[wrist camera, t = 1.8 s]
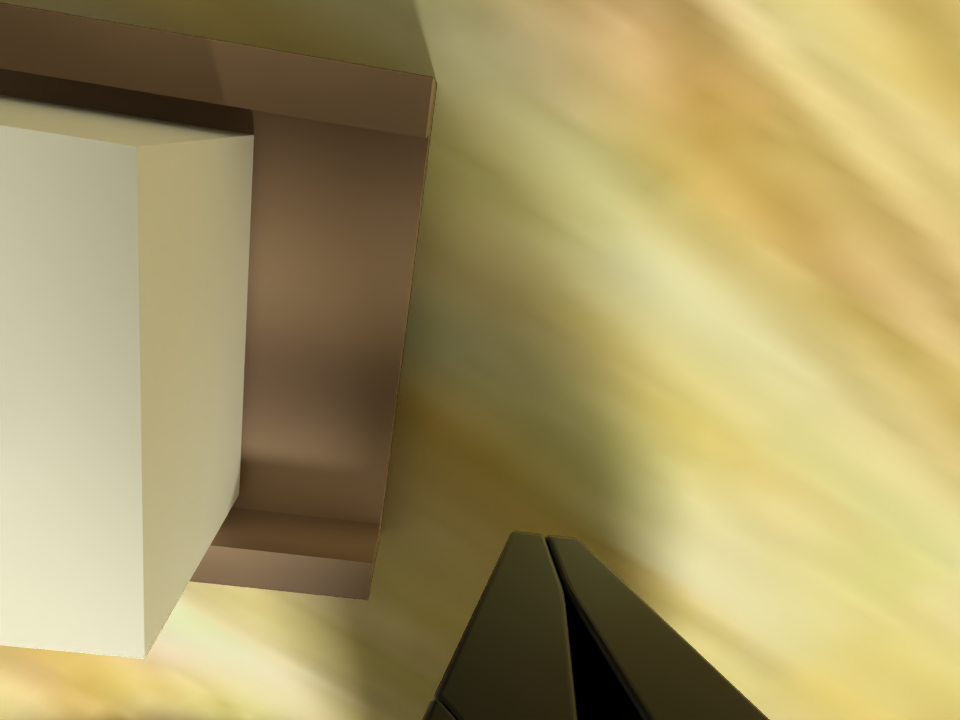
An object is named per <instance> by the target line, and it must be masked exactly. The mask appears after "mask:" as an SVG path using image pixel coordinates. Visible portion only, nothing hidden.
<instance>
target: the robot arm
mask: <svg viewBox="0 0 960 720" xmlns="http://www.w3.org/2000/svg"><path fill="white" fill-rule="evenodd" d="M422 720H769V719H768V718H767V717H766V716H765V715H764V714H763V713H762V712H761V711H760V710H759V709H758V708H757V707H756V706H754V705H753V704H752V703H751V702H750V701H749V700H748V699H747V698H746V697H745V696H744V695H743V694H742V693H741V692H740V691H739V690H738V689H736V688H735V687H734V686H733V685H732V684H731V683H730V682H729V681H728V680H727V679H726V678H725V677H724V676H723V675H722V674H721V673H720V672H718V671H717V670H716V669H715V668H714V667H713V666H712V665H711V664H710V663H709V662H708V661H707V660H706V659H705V658H704V657H703V656H702V655H700V654H699V653H698V652H697V651H696V650H695V649H694V648H693V647H692V646H691V645H690V644H689V643H688V642H687V641H686V640H685V639H684V638H682V637H681V636H680V635H679V634H678V633H677V632H676V631H675V630H674V629H673V628H672V627H671V626H670V625H669V624H668V623H667V622H666V621H664V620H663V619H662V618H661V617H660V616H659V615H658V614H657V613H656V612H655V611H654V610H653V609H652V608H651V607H650V606H649V605H648V604H646V603H645V602H644V601H643V600H642V599H641V598H640V597H639V596H638V595H637V594H636V593H635V592H634V591H633V590H632V589H631V588H630V587H628V586H627V585H626V584H625V583H624V582H623V581H622V580H621V579H620V578H619V577H618V576H617V575H616V574H615V573H614V572H613V571H612V570H610V569H609V568H608V567H607V566H606V565H605V564H604V563H603V562H602V561H601V560H600V559H599V558H598V557H597V556H596V555H595V554H594V553H592V552H591V551H590V550H589V549H588V548H587V547H586V546H585V545H584V544H583V543H582V542H581V541H579V540H578V539H576V538H571V537H562V536H553V535H549V536H547V537H546V538H544V536H543V535H541V534H536V533H528V532H519V531H514V532H512V533H511V534H510V536H509V538H508V540H507V542H506V544H505V547H504V549H503V551H502V553H501V555H500V557H499V559H498V561H497V564H496V566H495V568H494V570H493V572H492V574H491V576H490V578H489V580H488V583H487V585H486V587H485V589H484V591H483V593H482V595H481V597H480V600H479V602H478V604H477V606H476V608H475V610H474V612H473V614H472V616H471V619H470V621H469V623H468V625H467V627H466V629H465V631H464V633H463V636H462V638H461V640H460V642H459V644H458V646H457V648H456V650H455V652H454V655H453V657H452V659H451V661H450V663H449V665H448V667H447V669H446V672H445V674H444V676H443V678H442V680H441V682H440V684H439V686H438V688H437V691H436V693H435V695H434V697H433V701H431V702H430V704H429V706H428V708H427V711H426V713H425V715H424V717H423V719H422Z"/></svg>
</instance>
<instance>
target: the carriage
mask: <svg viewBox="0 0 960 720" xmlns="http://www.w3.org/2000/svg"><path fill="white" fill-rule="evenodd" d="M253 148H254V135H251V134H245V133H238V132H232V131H226V130H220V129H214V128H208V127H201V126H195V125H189V124H183V123H177V122H170V121H164V120H158V119H152V118H146V117H139V116H133V115H127V114H121V113H115V112H108V111H102V110H96V109H90V108H84V107H77V106H71V105H65V104H59V103H53V102H46V101H40V100H34V99H28V98H22V97H15V96H9V95H3V94H0V645H5V646H15V647H25V648H36V649H46V650H57V651H67V652H77V653H88V654H98V655H109V656H119V657H130V658H140V659H145V657H146V656H147V654H148V652H149V651H150V649H151V647H152V645H153V644H154V642H155V640H156V638H157V637H158V635H159V633H160V631H161V630H162V628H163V626H164V624H165V623H166V621H167V619H168V617H169V616H170V614H171V612H172V611H173V609H174V607H175V605H176V604H177V602H178V600H179V598H180V597H181V595H182V593H183V591H184V590H185V588H186V586H187V584H188V583H189V581H190V579H191V577H192V576H193V574H194V572H195V570H196V569H197V567H198V565H199V564H200V562H201V560H202V558H203V557H204V555H205V553H206V551H207V550H208V548H209V546H210V544H211V543H212V541H213V539H214V537H215V536H216V534H217V532H218V530H219V529H220V527H221V525H222V523H223V522H224V520H225V518H226V517H227V515H228V513H229V511H230V510H231V508H232V506H233V504H234V503H235V501H236V499H237V497H238V496H239V487H240V462H241V438H242V414H243V390H244V366H245V342H246V317H247V293H248V269H249V245H250V221H251V197H252V173H253Z"/></svg>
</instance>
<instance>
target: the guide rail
mask: <svg viewBox="0 0 960 720" xmlns="http://www.w3.org/2000/svg"><path fill="white" fill-rule="evenodd" d="M436 88H437V83H436V81H435V80H434V78H433V77H429V76H423V75H418V74H412V73H406V72H400V71H394V70H389V69H383V68H377V67H371V66H365V65H360V64H354V63H348V62H342V61H336V60H331V59H325V58H319V57H313V56H307V55H302V54H296V53H290V52H284V51H278V50H273V49H267V48H261V47H255V46H249V45H243V44H238V43H232V42H226V41H220V40H214V39H209V38H203V37H197V36H191V35H185V34H180V33H174V32H168V31H162V30H156V29H151V28H145V27H139V26H133V25H127V24H122V23H116V22H110V21H104V20H98V19H93V18H87V17H81V16H75V15H69V14H64V13H58V12H52V11H46V10H40V9H34V8H29V7H23V6H17V5H11V4H5V3H0V94H3V95H9V96H15V97H22V98H28V99H34V100H40V101H46V102H53V103H59V104H65V105H71V106H77V107H84V108H90V109H96V110H102V111H108V112H115V113H121V114H127V115H133V116H139V117H146V118H152V119H158V120H164V121H170V122H177V123H183V124H189V125H195V126H201V127H208V128H214V129H220V130H226V131H232V132H238V133H245V134H251V135H254V148H253V173H252V197H251V221H250V245H249V269H248V293H247V317H246V342H245V366H244V390H243V414H242V438H241V462H240V487H239V496H238V497H237V499H236V501H235V503H234V504H233V506H232V508H231V510H230V511H229V513H228V515H227V517H226V518H225V520H224V522H223V523H222V525H221V527H220V529H219V530H218V532H217V534H216V536H215V537H214V539H213V541H212V543H211V544H210V546H209V548H208V550H207V551H206V553H205V555H204V557H203V558H202V560H201V562H200V564H199V565H198V567H197V569H196V570H195V572H194V574H193V576H192V577H191V579H190V581H193V582H202V583H212V584H221V585H231V586H240V587H250V588H259V589H269V590H278V591H287V592H297V593H306V594H316V595H325V596H335V597H344V598H353V599H363V600H368V598H369V593H370V587H371V582H372V577H373V571H374V566H375V560H376V555H377V549H378V544H379V538H380V532H381V524H382V516H383V508H384V500H385V493H386V485H387V477H388V469H389V461H390V453H391V445H392V437H393V429H394V421H395V413H396V405H397V397H398V390H399V382H400V374H401V366H402V358H403V350H404V342H405V334H406V326H407V318H408V310H409V302H410V294H411V286H412V279H413V271H414V263H415V255H416V247H417V239H418V231H419V223H420V215H421V207H422V199H423V191H424V183H425V176H426V168H427V160H428V152H429V144H430V136H431V128H432V120H433V112H434V104H435V96H436Z"/></svg>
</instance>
